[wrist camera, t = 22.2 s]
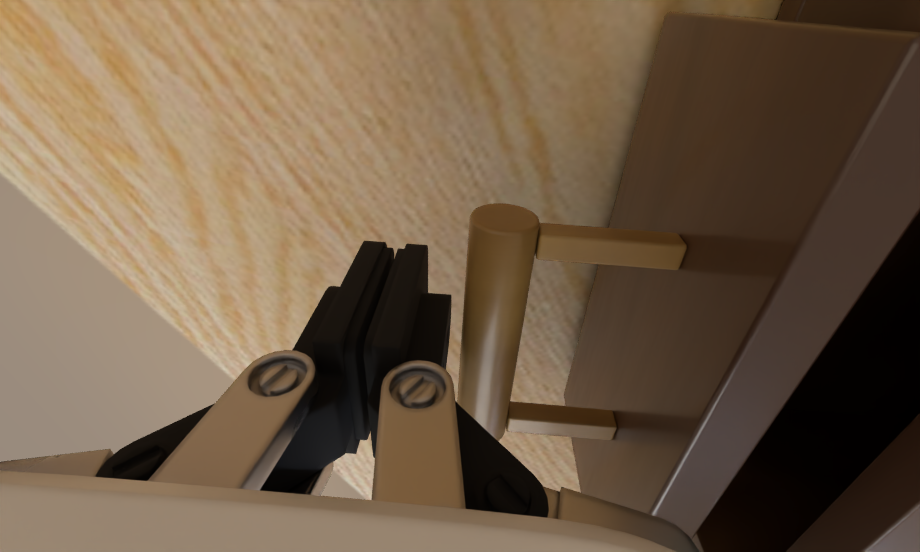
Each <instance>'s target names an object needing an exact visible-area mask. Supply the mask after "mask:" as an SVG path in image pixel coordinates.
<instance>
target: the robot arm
mask: <svg viewBox="0 0 920 552" xmlns="http://www.w3.org/2000/svg"><path fill="white" fill-rule="evenodd" d="M450 322H451V295H446V294H432V293H428V246H427V245H417V244H406V246H405V249H398V251H397V253H396V256H395V259H394V250H393V248H387V245H386V243H385V242H374V241H364V242H363V244H362V245H361V247H360V249H359V251H358V253H357V255H356V257H355V259H354V261H353V263H352V265H351V267H350V269H349V271H348V272H347V274H346V276H345V278H344V280H343V282H342V284H341V286H340V287H336V286H330V287H328V288H327V290H326V291H325V293H324V295H323V297H322V298H321V300H320V302H319V304H318V306H317V307H316V309H315V311H314V313H313V314H312V316H311V318H310V320H309V322H308V323H307V325H306V327H305V329H304V331H303V332H302V334H301V336H300V338H299V339H298V341H297V343H296V345H295V347H294V348H293V350H292V351H291V350H284V351H277V352H273V353H270V354H267V355H264V356H262V357H260V358H259V359H257V360H255V361H253V362H252V363H251V364H250V365H249V366H248V367H247V368H246V369H245V370H244V371H243V372H242V373H241V374H240V375H239V377H238V378H237V379H236V380H235V381H234V382H233V383H232V385H231V386H230V387H229V388H228V389H227V391H226V392H225V393H224V394H223V395H222V396H221V397H220V398H219V400H218V401H217V402H216V403H215V404H213V405H211V406H208V407H206V408H204V409H202V410H200V411H198V412H196V413H193V414H192V415H189V416H187V417H185V418H183V419H181V420H179V421H177V422H174V423H172V424H170V425H168V426H166V427H164V428H162V429H160V430H157V431H155V432H153V433H151V434H149V435H147V436H145V437H143V438H140V439H138V440H136V441H134V442H132V443H131V444H129V445H127V446H125V447H124V448H122V449H120V450H119V451H118V452H117V453H115V454H113V452H112V451H111V450H110V449H105V450H96V451H87V452H80V453H70V454H62V455H54V456H45V457H37V458H28V459H20V460H11V461H4V462H0V552H699V550H698V548H697V547H696V545H695V544H694V543H693V541H692V540H691V538H690V537H689V536H688V535H687V534H686V533H685V532H684V531H683V530H681V529H680V528H679V527H678V526H677V525H675V524H673V523H671V522H669V521H667V520H665V519H663V518H660V517H657V516H654V515H650V514H647V513H644V512H641V511H638V510H634V509H631V508H628V507H625V506H621V505H618V504H615V503H612V502H609V501H605V500H602V499H599V498H596V497H592V496H589V495H586V494H583V493H580V492H576V491H573V490H570V489H567V488H564V487H561V490H560V492H559V491H555V490H552V489H549V488H546V487H543V486H542V484H541V483H540V482H539V481H538V479H537V478H536V477H535V476H534V475H533V474H532V473H531V472H530V471H529V470H528V469H527V468H526V467H525V466H524V465H523V464H522V463H521V462H520V461H518V460H517V459H516V458H515V457H514V456H513V455H512V454H511V453H510V452H509V451H508V450H507V449H506V448H505V447H504V446H503V445H501V444H500V443H499V442H498V441H497V440H496V439H495V438H494V437H493V436H492V435H491V434H490V433H489V432H488V431H487V430H485V429H484V428H483V427H482V426H481V425H480V424H479V423H478V422H477V421H476V420H475V419H474V418H473V417H472V416H471V415H470V414H468V413H467V412H466V411H465V410H464V409H463V408H462V407H461V406H460V405H459V404H458V403H457V402H456V401H455V394H454V384H453V381H452V378H451V376H450V375H449V373H448V372H447V371H446V363H447V355H448V346H449V336H450ZM370 430H371V440H372V449H373V457H374V458H375V466H374V478H373V490H372V500H362V499H351V498H340V497H328V496H321V494H322V492H323V490H324V488H325V486H326V484H327V482H328V480H329V478H330V475H331V472H332V470H333V461H335V460H336V459H338V458H340V457H341V456H343V455H344V454H345V453H353V454H356V452H357V449H358V445H359V442H360V440H367V439H368V437H369V434H370Z"/></svg>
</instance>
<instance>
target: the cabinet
mask: <svg viewBox="0 0 920 552" xmlns="http://www.w3.org/2000/svg"><path fill="white" fill-rule="evenodd" d="M777 20H783V21H795V22H807V23H818V24H830V25H841V26H853V27H865V28H876V29H888V30H900V31H911V32H920V0H784V2H783V4H782V7H781V9H780V12H779V14H778V17H777ZM786 552H920V413H919V414H918V415H917V416H916V417H915V418H914V419H913V420H912V421H911V423H910V424H909V425H908V426H907V427H906V428H905V429H904V430H903V431H902V432H901V433H900V434H899V435H898V436H897V437H896V438H895V439H894V440H893V441H892V442H891V443H890V444H889V445H888V446H887V447H886V448H885V449H884V450H883V451H882V453H881V454H880V455H879V456H878V457H877V458H876V459H875V460H874V461H873V462H872V463H871V464H870V465H869V466H868V467H867V468H866V469H865V470H864V471H863V472H862V473H861V474H860V475H859V476H858V477H857V478H856V479H855V480H854V481H853V483H852V484H851V485H850V486H849V487H848V488H847V489H846V490H845V491H844V492H843V493H842V494H841V495H840V496H839V497H838V498H837V499H836V500H835V501H834V502H833V503H832V504H831V505H830V506H829V507H828V508H827V509H826V510H825V511H824V513H823V514H822V515H821V516H820V517H819V518H818V519H817V520H816V521H815V522H814V523H813V524H812V525H811V526H810V527H809V528H808V529H807V530H806V531H805V532H804V533H803V534H802V535H801V536H800V537H799V538H798V539H797V540H796V542H795V543H794V544H793V545H792V546H791V547H790V548H789V549H788V550H787V551H786Z"/></svg>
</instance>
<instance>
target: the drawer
mask: <svg viewBox="0 0 920 552" xmlns="http://www.w3.org/2000/svg"><path fill="white" fill-rule="evenodd" d="M535 254H536V258H537V259H539V260H549V261H563V262H576V263H589V264H599V265H598V269H597V273H596V276H595V280H594V284H593V288H592V291H591V295H590V299H589V303H588V306H587V310H586V314H585V318H584V321H583V325H582V329H581V332H580V336H579V340H578V344H577V347H576V351H575V355H574V359H573V362H572V366H571V370H570V374H569V377H568V381H567V385H566V389H565V392H564V399H565V405H566V406H558V405H546V404H534V403H522V402H510V398H511V392H512V386H513V380H514V374H515V368H516V362H517V356H518V351H519V345H520V339H521V333H522V327H523V321H524V315H525V309H526V303H527V297H528V291H529V285H530V279H531V273H532V267H533V262H534V256H535ZM457 403H458V404H459V405H460V406H461V407H462V408H463V409H464V410H465V411H466V412H467V413H468V414H470V415H471V416H472V417H473V418H474V419H475V420H476V421H477V422H478V423H479V424H480V425H481V426H482V427H483V428H484V429H485V430H487V431H488V432H489V433H490V434H491V435H492V436H493V437H494V438H495V439H496V440H497V441H498V440H500V439H501V437H502V436H503V434H504V432H505V428H506V429H507V431H508V432H519V433H531V434H543V435H554V436H566V437H571V439H572V444H573V450H574V456H575V461H576V467H577V472H578V478H579V484H580V489H581V493H583V494H586V495H589V496H592V497H596V498H599V499H602V500H605V501H609V502H612V503H615V504H618V505H621V506H625V507H628V508H631V509H634V510H638V511H641V512H644V513H647V514H650V515H654V516H657V517H660V518H663V519H665V520H667V521H669V522H671V523H673V524H675V525H677V526H678V527H679V528H680V529H681V530H683V531H684V532H685V533H686V534H687V535H688V536H689V537H690V538H691V540H692V541H693V543H694V544H695V545H696V547H697V548H698V550H699V552H786V551H787V550H788V549H789V548H790V547H791V546H792V545H793V544H794V543H795V542H796V540H797V539H798V538H799V537H800V536H801V535H802V534H803V533H804V532H805V531H806V530H807V529H808V528H809V527H810V526H811V525H812V524H813V523H814V522H815V521H816V520H817V519H818V518H819V517H820V516H821V515H822V514H823V513H824V511H825V510H826V509H827V508H828V507H829V506H830V505H831V504H832V503H833V502H834V501H835V500H836V499H837V498H838V497H839V496H840V495H841V494H842V493H843V492H844V491H845V490H846V489H847V488H848V487H849V486H850V485H851V484H852V483H853V481H854V480H855V479H856V478H857V477H858V476H859V475H860V474H861V473H862V472H863V471H864V470H865V469H866V468H867V467H868V466H869V465H870V464H871V463H872V462H873V461H874V460H875V459H876V458H877V457H878V456H879V455H880V454H881V453H882V451H883V450H884V449H885V448H886V447H887V446H888V445H889V444H890V443H891V442H892V441H893V440H894V439H895V438H896V437H897V436H898V435H899V434H900V433H901V432H902V431H903V430H904V429H905V428H906V427H907V426H908V425H909V424H910V423H911V421H912V420H913V419H914V418H915V417H916V416H917V415H918V414H919V413H920V32H911V31H900V30H888V29H876V28H865V27H853V26H841V25H830V24H818V23H807V22H795V21H783V20H772V19H760V18H748V17H737V16H725V15H713V14H697V13H680V12H669V13H667V14H666V16H665V18H664V22H663V26H662V29H661V33H660V37H659V41H658V44H657V48H656V52H655V56H654V59H653V63H652V67H651V71H650V74H649V78H648V82H647V86H646V89H645V93H644V97H643V101H642V104H641V108H640V112H639V115H638V119H637V123H636V127H635V130H634V134H633V138H632V142H631V145H630V149H629V153H628V157H627V160H626V164H625V168H624V172H623V175H622V179H621V183H620V187H619V190H618V194H617V198H616V202H615V205H614V209H613V213H612V216H611V220H610V224H609V228H602V227H588V226H575V225H561V224H547V223H540V222H539V219H538V217H537V216H536V215H535V214H534V213H533V212H531V211H530V210H528V209H526V208H523V207H520V206H516V205H511V204H487V205H483V206H480V207H478V208H476V209H475V210H474V211H473V212H472V214H471V215H470V223H469V238H468V252H467V267H466V281H465V296H464V310H463V325H462V340H461V354H460V369H459V383H458V398H457Z"/></svg>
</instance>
